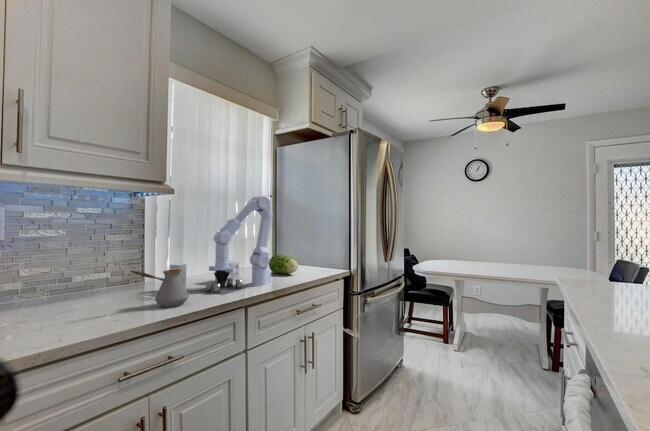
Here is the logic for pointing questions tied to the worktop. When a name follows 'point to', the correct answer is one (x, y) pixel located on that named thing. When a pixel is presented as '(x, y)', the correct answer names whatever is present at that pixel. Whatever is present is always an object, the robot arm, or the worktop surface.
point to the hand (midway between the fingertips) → (221, 287)
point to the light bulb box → (235, 275)
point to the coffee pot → (169, 288)
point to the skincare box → (182, 273)
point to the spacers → (216, 286)
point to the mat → (222, 290)
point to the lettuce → (282, 264)
